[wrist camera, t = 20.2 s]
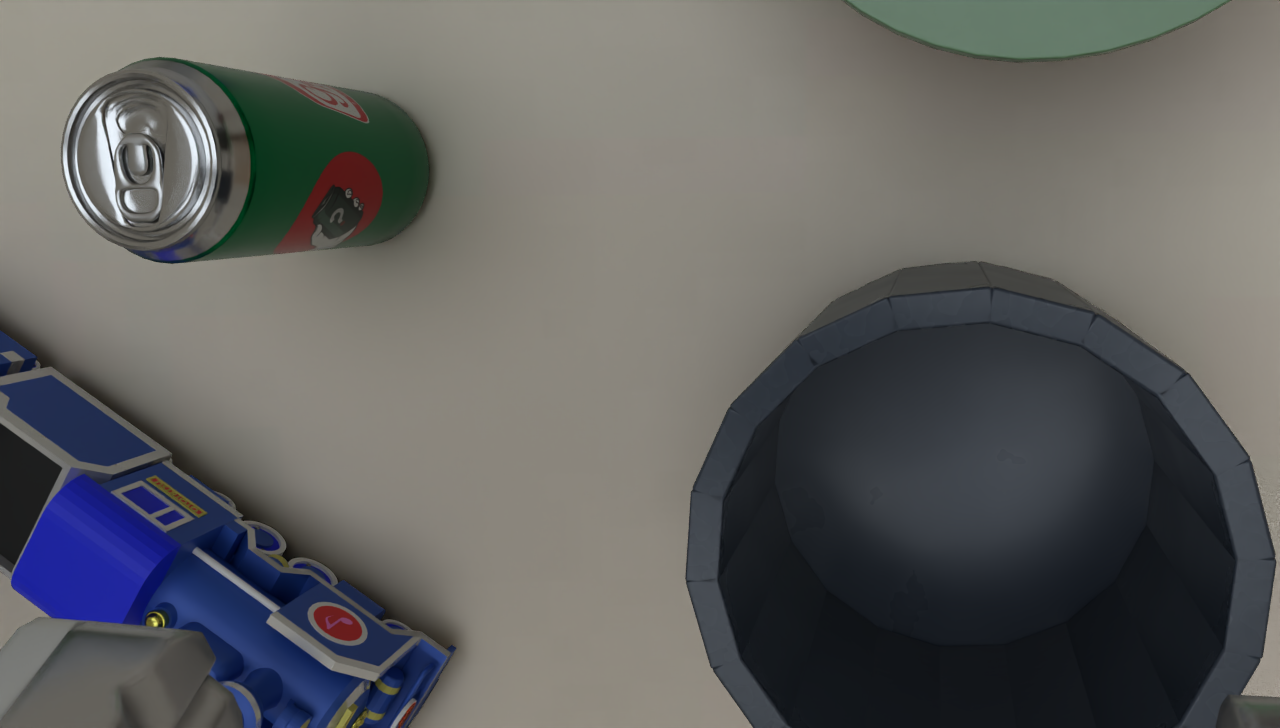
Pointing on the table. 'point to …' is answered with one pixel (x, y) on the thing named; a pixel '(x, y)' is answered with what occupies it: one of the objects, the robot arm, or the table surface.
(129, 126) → the soda can
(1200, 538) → the tin
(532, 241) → the table surface
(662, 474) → the table surface
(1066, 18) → the lid
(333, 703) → the toy train
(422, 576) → the table surface
